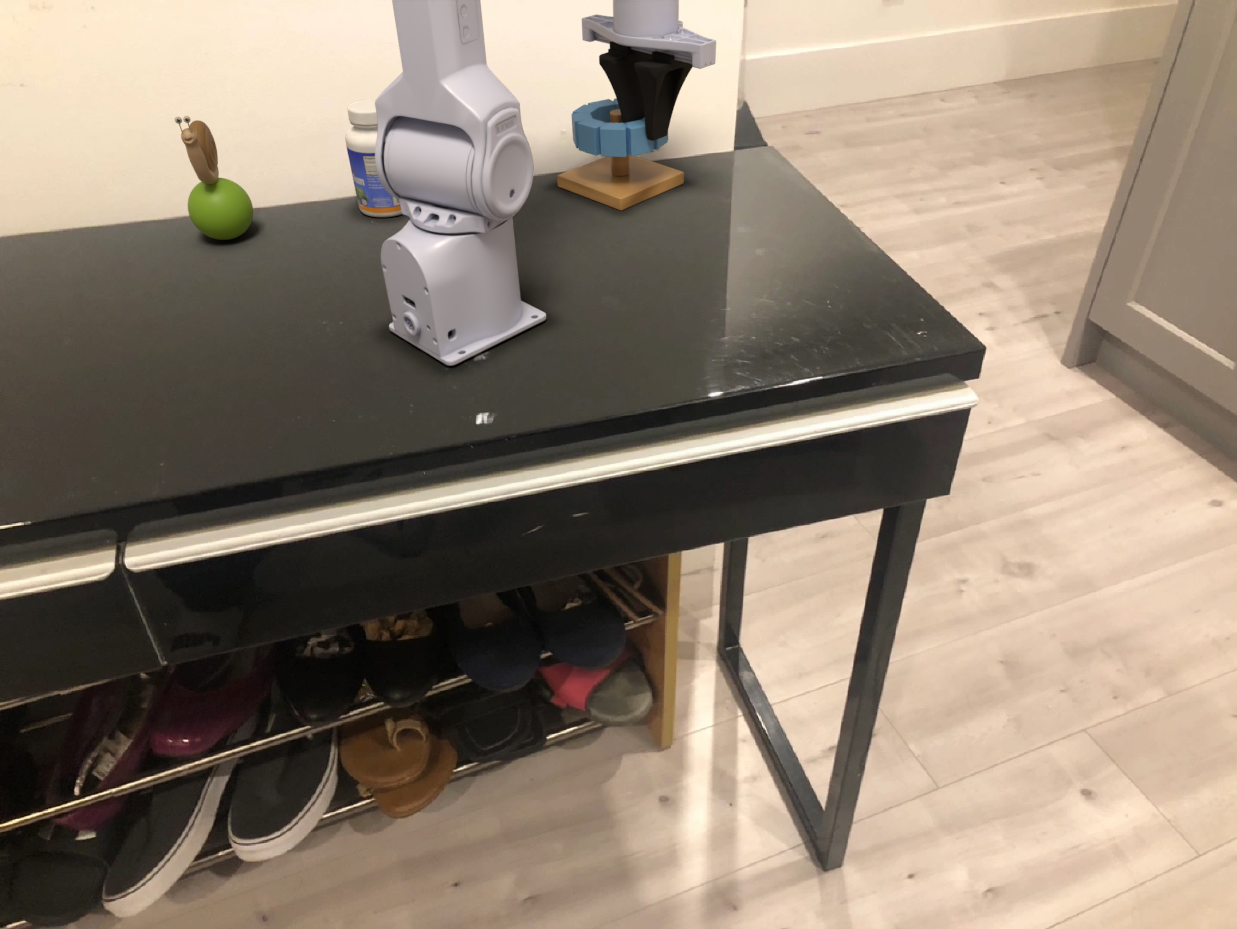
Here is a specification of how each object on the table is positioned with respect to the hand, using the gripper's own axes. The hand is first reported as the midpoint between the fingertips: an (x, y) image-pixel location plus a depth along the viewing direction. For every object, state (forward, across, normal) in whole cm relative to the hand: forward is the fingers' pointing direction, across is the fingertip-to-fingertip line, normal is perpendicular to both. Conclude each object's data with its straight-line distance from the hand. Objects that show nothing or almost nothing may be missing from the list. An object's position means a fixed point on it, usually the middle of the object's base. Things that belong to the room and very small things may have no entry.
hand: (646, 133), depth 86 cm
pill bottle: (+6, +17, +19) cm, 26 cm away
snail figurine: (+6, +22, +33) cm, 40 cm away
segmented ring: (+1, +4, 0) cm, 4 cm away
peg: (+6, +4, 0) cm, 7 cm away
